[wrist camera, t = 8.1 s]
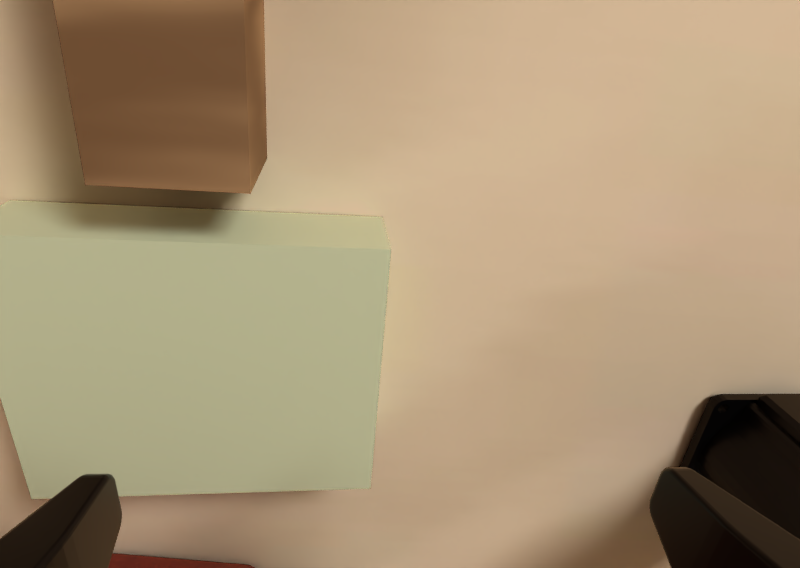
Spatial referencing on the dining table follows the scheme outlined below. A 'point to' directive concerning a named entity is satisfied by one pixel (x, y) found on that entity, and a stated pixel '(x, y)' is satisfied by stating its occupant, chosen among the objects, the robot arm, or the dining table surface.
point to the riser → (191, 346)
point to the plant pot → (165, 562)
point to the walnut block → (167, 91)
